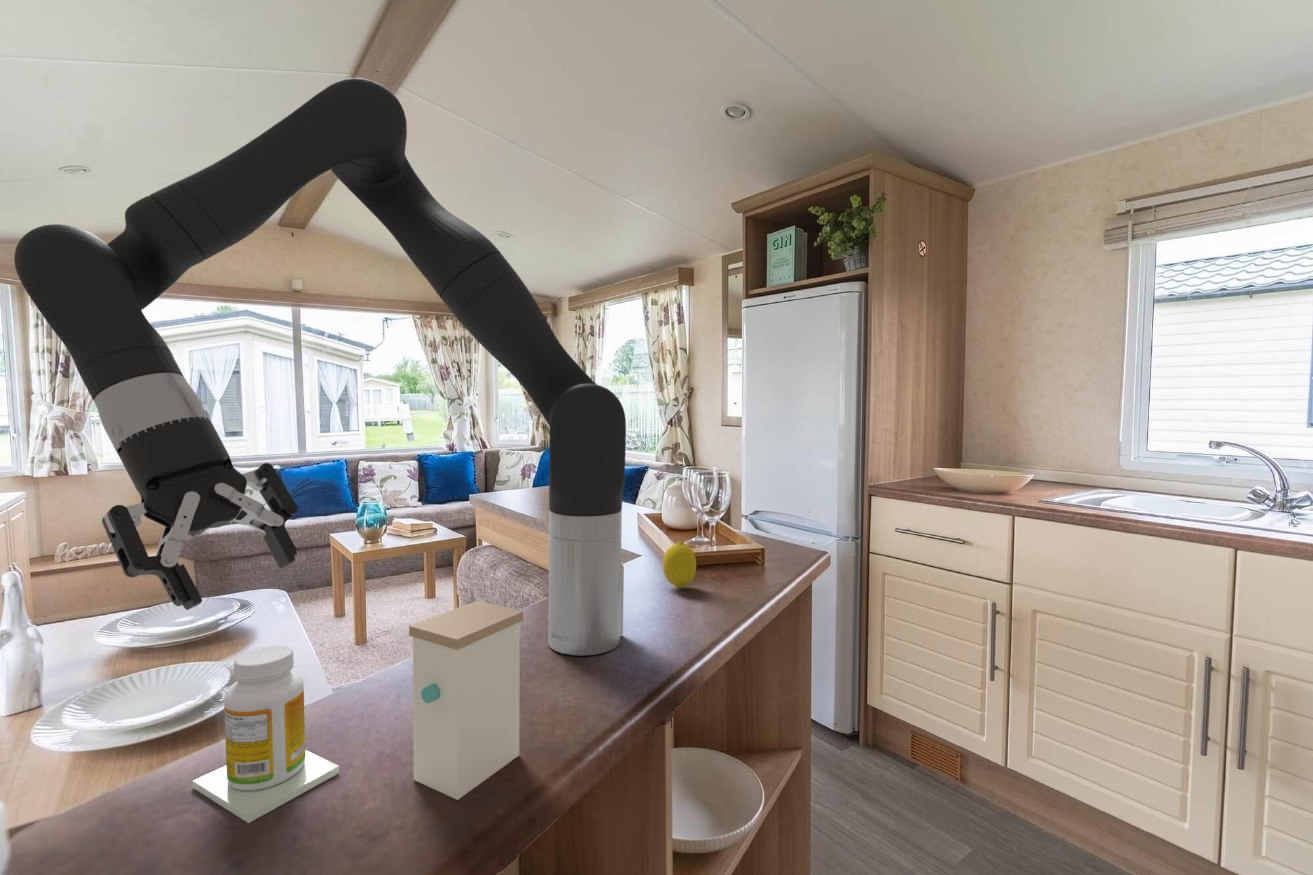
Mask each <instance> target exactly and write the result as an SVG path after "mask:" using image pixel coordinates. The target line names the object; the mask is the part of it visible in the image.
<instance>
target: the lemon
mask: <svg viewBox="0 0 1313 875" xmlns="http://www.w3.org/2000/svg"><path fill="white" fill-rule="evenodd" d="M696 560H697V559H696V555H695V553H694V551H693V549H692V548H691V547H690V546H689V545H687V544H684V542H683V541H677V543H675V544H672V545H671V546H670V547H669V548H668V549H667V550H666V551H665V553H664V557H663V563H662V568H663V574H664V576H665V579H666V580H667V581H668V582H669V583H670V584H672V585H674V586H675V587H676V589H679V590H680V589H682V588H683V587H684V586H687V585H688V584H690V582H692V580H693V579H694V578H695V575H696V572H697V561H696Z"/></svg>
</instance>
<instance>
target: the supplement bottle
mask: <svg viewBox="0 0 1313 875" xmlns="http://www.w3.org/2000/svg"><path fill="white" fill-rule="evenodd" d="M293 668H294V650H293V648H292V647H290V646H287V645H269V646H263V647H258V648H254V649H251V650H248V651H245V652H243V653H241V654H239V655H238V656H236V657H235V659H234V662H233V676H234V679H235V680H236V682H234V683H233V684H231V685H230V687H229V688H228V689H227V690H226V691H225V695H224V698H223V704H224V709H223V710H224V729H225V730H224V732H225V733H224V734H225V761H226V762H225V763H226V764H225V765H226V767H227V781H228V784H229V785H230V786H231V787H232V788H235V789H238V790H246V791H251V790H259V789H264V788H268V787H271V786H274V785H276V784H279V783H281V782H283V781H285V780H287V779H288V778H290V777H292V776H293V775H294V774H296V773H297V772H298V771H299V770H300V769H301V768H302V766H303V764H304V762H305V750H306V730H305V729H306V726H305V725H306V724H305V686H304V679H303V677H302V676H301V675H300V674H299V673H298V672H296V671H293Z"/></svg>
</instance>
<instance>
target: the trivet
mask: <svg viewBox="0 0 1313 875" xmlns="http://www.w3.org/2000/svg"><path fill="white" fill-rule="evenodd" d="M338 774H340V765H338V764H336V763H333V762H331V761H330V760H328V759H326V758H323V757H321V756H319V755H317V754H315V753H313V752H312V751H309V750H307V749H305V762H304V764H303V766H302V768H301V769H300V770H299V771H298V772H297V773H296V774H294V775H293V776H292V777H290V778H288V779H287V780H285V781H283V782H281V783H279V784H276V785H274V786H271V787H268V788H264V789H259V790H251V791H246V790H238V789H235V788H232V787H231V786H230V785H229V784H228V781H227V767H226V764H225V765H223V766H222V767H219V768H217V769H214V770H213V771H211V772H209V773H206V774H204V775H202V776H199V777H197V778H196V779H193V780H192V789H194V790H195V791H197V792H199V793H200V794H202V795H203V796H205V797H207V798H208V799H209V800H211V801H212V802H214V803H216V804H217V805H219V806H221V807H222V808H223V809H225V810H227V811H229V812H230V813H231V814H234V816H236V817H238V818H239V819H241V820H242V821H244V822H246V823H247V824H250V823H251V822H253V821H255V820H257V819H259V818H261V817H262V816H264V815H266V814H268V813H270V812H271V811H273V810H275V809H276V808H278V807H280V806H282V805H284V804H286V803H288V802H289V801H292V800H293V799H295V798H297V797H298V796H300V795H302V794H304V793H305V792H308V791H310V790H311V789H313V788H315V787H317V786H318V785H321V784H323V783H324V782H326V781H327V780H329V779H331V778H333V777H335V776H336V775H338Z"/></svg>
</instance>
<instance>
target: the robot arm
mask: <svg viewBox="0 0 1313 875" xmlns="http://www.w3.org/2000/svg"><path fill="white" fill-rule="evenodd" d="M405 113H406V112H405V110H404V108H403V106H402V104H401V102H400V100H399V99H398V98H397V97H396V96H395V94H394V93H392V91H391V90H390V89H388V88H387V87H385V86H384V85H382V84H380V83H379V82H376V81H374V80H371V79H367V78H361V77H349V78H348V77H347V78H344V79H340V80H338V81H335V82H334V83H332V84H330V85H328V86H327V87H325V88H324V89H322V90H321V91H319V92H317V93H316V94H315V95H314V96H312V97H311V98H310V99H308V100H307V101H306V102H304V103H303V104H302V105H300V106H299V107H297V109H295V110H294V111H292V112H291V113H289V114H288V115H287V116H285V117H284V118H282V119H281V120H280V121H278V122H277V123H275V124H274V125H272V126H271V127H269V128H268V129H266V130H265V131H264V132H262V133H261V134H260V135H258V136H257V137H255V138H253V139H252V140H251V141H249V142H248V143H246V144H245V145H243V146H241V147H240V148H237V149H236V150H235V151H233V152H231V153H229V154H228V155H226V156H225V157H222V159H219V160H217V161H216V162H214V163H212V164H210V165H209V166H207V167H204V168H203V169H201V170H199V171H196V172H195V173H193V174H190V175H188V176H186V177H184V178H182V179H180V180H178V181H175V182H174V183H171V184H169V185H167V186H166V187H162V188H161V189H159V190H157V191H155V192H152V193H151V194H149V195H146V196H144V197H142V198H140V199H138V200H136V201H135V202H133V203H131V204H130V205H129V206H128V207H127V208H126V210H125V212H124V220H125V228H124V230H123V231H122V232H121V233H120V234H118V235H117V236H116V237H115V238H113V239H112V240H111V241H109V242H108V243H106V242H105V241H103V240H102V239H101V238H100V237H99V236H97V235H95V234H93V233H92V232H90V231H87V230H85V229H83V228H79V227H76V226H71V225H67V224H58V223H57V224H55V223H54V224H52V223H51V224H45V225H41V226H38V227H35V228H33V229H31V230H30V231H28V232H27V233H26V234H24V235H23V236H22V238H20V240H19V241H18V243H17V245H16V248H15V251H14V267H15V271H16V273H17V274H16V275H17V277H18V279H19V280H20V283H21V285H22V287H23V288H24V290H25V291H26V293H27V295H28V296H29V297H30V299H31V301H32V302H33V303H34V305H35V306H36V309H37V310H38V311H39V312H40V314H41V315H42V316H43V317H44V319H45V321H46V322H47V324H48V325H49V327H50V328H51V329H52V331H53V332H54V333H55V334H56V336H57V337H58V338H59V339H60V341H61V342H62V343H63V345H64V347H65V348H66V349H67V351H68V353H69V354H70V356H71V358H72V360H73V363H74V364H75V368H76V369H77V372H78V374H79V376H80V378H81V380H82V382H83V384H84V385H85V387H86V390H87V391H88V393H89V395H90V398H91V399H92V401H93V402H94V405H95V407H96V410H97V412H98V415H99V419H100V423H101V425H102V426H103V429H104V431H105V433H106V435H107V436H108V438H109V440H110V441H111V444H112V447H113V448H114V449H115V452H116V453H117V455H118V457H119V459H120V461H121V463H122V465H123V467H124V469H125V471H126V472H127V474H128V475H129V476H128V477H129V478H130V480H131V481H132V483H133V485H134V487H135V490H136V491H137V493H138V494H139V495H140V498H141V500H140V503H135V504H132V505H127V506H125V505H123V504H116V505H114V506H112V507H111V508H110V509H109V510H108V511H107V512H106V513H105V515H104V516H103V517H102V519H101V523H102V525H103V527H104V530H105V533H106V534H107V537H108V539H109V542H110V543H111V546H112V548H113V550H114V553H115V555H116V558H117V559H118V562H119V564H120V566H121V569H122V572H123V573H124V575H125V576H126V577H128V578H136V577H138V576H147V575H152V576H156V577H157V578H159V580H160V581H161V584H162V586H163V588H164V589H165V591H166V592H167V596H168V597H169V599H170V600H171V603H173V604H174V605H175V606H176V607H181V606H183V608H184V609H185V610H186V611H189V610H191V609H193V608H196V607H197V606H198V605H200V604H202V602H203V599H202V596H201V595H200V592H199V590H198V589H197V587H196V584H195V583H194V581H193V579H192V578H191V576H190V574H189V571H188V570H187V568H186V566H185V564H181V565H180V564H179V562H178V561H179V559H180V556H181V552H182V550H183V546H184V543H186V542H185V541H186V540H187V538H188V536H191V537H195V536H198V535H200V534H203V533H204V532H206V531H207V530H209V529H216V528H217V529H218V528H221V527H224V526H227V525H229V524H230V523H231V522H232V521H233V522H235V523H237V524H239V525H242V526H249V527H250V528H253V529H255V530H256V531H259V532H261V533H263V534H265V535H264V536H262V539H264V541H265V543H266V545H267V547H268V549H269V551H270V552H271V555H272V557H273V559H274V560H275V562H276V564H277V565H278V567H279V569H283V568H284V569H285V567H288V566H290V565H292V564H293V563H294V562H296V555H297V548H296V546H295V544H294V542H293V540H292V538H291V536H290V534H289V532H288V530H287V529H286V526H285V525H286V522H287V521H288V520H290V518H292V517H293V516H294V515H295V514H297V513H298V511H299V507H298V505H297V503H296V502H295V500H294V498H292V495H291V494H290V492H289V490H288V489H287V487H286V485H285V483H284V482H283V481H282V479H281V478H280V476H279V474H278V473H277V471H276V469H275V467H274V466H273V465H272V464H271V463H269V462H264V463H262V464H261V465H260V466H259V467H257V468H256V469H254V470H250V471H248V472H245V473H241V472H240V471H238V470H237V469H236V468H235V467H234V465H233V462H232V459H231V456H230V454H229V452H228V450H227V449H226V446H225V445H224V443H223V441H222V440H221V437H220V436H219V433H218V432H217V430H216V428H215V426H214V424H213V422H212V420H211V418H210V415H209V413H208V410H207V409H206V408H205V407H204V405H203V404H202V402H201V399H200V398H199V397H198V395H197V393H196V392H195V391H194V389H193V388H192V386H191V385H190V383H189V382H188V380H187V379H186V378H185V376H184V374H183V373H182V370H181V369H180V366H179V365H178V363H177V360H176V359H175V358H174V355H173V354H172V351H171V349H170V347H169V345H167V343H166V341H165V339H163V337H162V336H161V334H160V333H159V332H158V331H157V329H156V328H154V326H153V325H152V324H151V323H150V322H149V321H148V319H147V318H146V316H145V315H144V313H143V310H144V309H146V308H147V307H148V306H149V305H151V303H153V302H154V301H156V300H157V299H158V298H159V297H160V296H161V295H162V294H164V293H165V292H166V291H167V290H168V289H169V288H170V287H172V286H173V285H174V284H175V283H176V282H177V281H178V280H180V278H181V277H182V276H183V275H184V274H185V273H186V272H187V271H189V269H191V268H192V267H194V266H196V265H199V264H200V263H203V262H204V261H205V260H208V259H210V258H212V257H214V256H215V255H217V254H219V253H221V252H222V251H225V250H226V249H228V248H230V247H233V246H234V245H235V244H237V243H240V241H243V240H244V239H246V238H247V237H249V235H251V234H252V233H254V232H256V231H257V230H258V229H259V228H260V227H262V225H263V224H265V223H266V222H267V221H268V220H269V219H270V218H271V217H272V216H273V215H275V213H276V212H278V210H279V209H280V208H282V207H283V206H284V204H285V203H286V202H287V201H289V199H290V198H292V197H293V196H294V195H295V194H296V193H298V192H299V191H300V190H301V189H303V188H304V187H305V186H306V185H307V184H308V183H310V182H312V181H313V180H315V179H316V178H318V177H319V176H321V175H323V174H325V173H326V172H328V171H330V170H331V172H332V173H333V174H334V175H335V176H336V178H337V179H338V180H339V181H340V182H341V183H342V184H343V185H344V186H345V187H346V188H347V189H348V190H349V191H350V192H351V193H352V194H353V195H354V196H355V197H356V198H357V199H358V200H359V201H360V202H361V203H362V204H363V205H364V206H365V207H366V209H367V210H369V211H370V213H372V214H373V215H374V217H376V219H378V221H379V222H380V223H381V224H382V225H383V226H384V227H385V228H386V229H387V231H388V232H389V233H390V234H391V236H392V237H393V238H394V239H395V240H396V241H397V243H398V244H399V246H400V247H401V248H402V250H403V251H404V253H405V254H406V255H407V257H408V258H409V259H410V261H411V262H412V263H413V264H414V266H415V267H416V268H417V269H418V271H419V272H420V273H421V274H422V275H423V277H424V278H425V279H426V280H427V282H428V283H429V284H430V286H431V288H433V289H434V291H435V293H436V295H437V296H438V297H439V298H440V299H441V301H442V302H443V304H445V305H446V306H447V307H448V309H449V310H450V312H451V313H452V314H453V315H454V317H455V318H456V319H457V320H458V321H459V322H460V324H461V325H462V326H463V327H464V328H465V329H466V331H467V332H469V334H471V336H472V337H473V338H474V339H475V340H476V341H477V342H478V343H479V344H480V345H481V346H482V347H483V349H485V350H486V351H487V352H488V353H489V354H490V355H491V356H492V357H493V358H494V359H496V360H497V362H499V363H500V364H501V365H502V366H503V367H504V368H505V369H506V370H508V372H509V373H510V374H511V375H512V376H513V377H514V379H516V381H518V382H519V384H520V385H521V386H522V387H523V389H524V390H525V391H526V393H527V394H528V396H529V397H530V399H531V401H532V402H533V403H534V405H535V407H537V409H538V410H539V412H540V414H541V415H542V417H543V418H544V420H545V421H546V423H547V425H548V427H549V458H548V459H549V462H548V463H549V471H548V472H549V478H548V498H549V499H548V514H549V515H548V538H549V539H548V622H547V625H548V627H547V628H548V632H547V633H548V634H547V635H548V636H547V639H548V640H547V641H548V642H547V644H548V646H549V648H550V649H552V650H554V651H555V652H558V653H560V654H563V655H568V656H570V655H571V656H585V657H586V656H595V655H599V654H604V653H607V652H609V651H612V650H614V649H616V648H617V647H618V645H620V643H621V636H623V635H624V585H625V584H624V583H625V582H624V579H625V578H624V577H625V576H624V575H625V571H624V570H625V567H624V565H623V564H622V535H623V534H622V525H623V524H622V523H623V522H622V519H623V518H622V517H623V515H622V514H623V511H622V510H623V494H624V489H625V477H626V474H625V473H626V448H627V447H626V444H627V442H626V441H627V424H626V423H627V422H626V413H625V409H624V406H623V404H622V402H621V401H620V400H619V398H618V397H617V395H616V394H614V393H613V391H611V390H610V389H608V388H606V387H604V386H602V385H600V384H597V383H596V382H595V381H594V380H593V379H592V378H591V377H590V376H589V375H588V374H587V373H586V372H585V371H584V370H583V368H581V366H580V365H579V364H578V363H577V362H576V361H575V360H574V359H573V358H572V356H570V354H569V353H568V352H567V351H566V349H565V348H564V347H563V346H562V344H561V342H560V341H559V339H558V338H557V336H556V335H555V333H554V331H553V330H552V327H551V326H550V324H549V322H548V320H547V318H546V316H545V314H544V312H543V311H542V310H541V308H540V306H539V304H538V302H537V301H536V300H535V298H534V296H533V295H532V292H530V290H529V288H528V287H527V286H526V284H525V283H524V281H523V280H522V279H521V278H520V276H519V274H518V273H517V272H516V271H515V269H514V268H513V267H512V265H511V264H510V263H509V262H508V260H507V259H506V258H505V256H504V255H503V254H502V253H501V251H500V250H499V249H498V248H497V247H496V245H495V244H494V243H493V242H492V241H491V240H490V239H488V237H487V236H485V235H484V234H483V233H481V232H480V231H479V230H477V229H476V228H475V227H473V225H469V223H467V222H465V221H464V220H462V219H461V218H459V217H457V216H456V215H454V214H452V212H450V211H448V210H447V209H446V208H445V207H444V206H443V205H441V203H439V201H437V199H436V198H435V197H434V196H433V195H432V194H431V192H430V191H429V190H428V189H427V187H426V185H425V184H424V183H423V182H422V180H421V179H420V177H419V176H418V175H417V173H416V172H415V170H414V168H413V167H412V165H411V164H410V162H409V160H408V158H407V156H406V145H407V137H408V131H407V130H408V128H407V126H408V124H407V118H406V114H405ZM247 486H249V487H251V488H252V490H253V491H256V492H259V493H260V495H261V497H262V499H263V500H264V501H265V503H266V505H267V506H268V508H269V509H270V510H269V509H268V508H266V507H265V506H264V504H263V503H261V502H259V501H257V500H255V499H254V498H251V497H249V496H247V495H245V492H246V489H247ZM142 517H145V518H147V519H149V520H151V521H153V522H155V523H156V524H159V525H161V526H163V530H162V533H161V536H160V539H159V542H158V544H157V552H156V554H155V555H154V556H152V555H151V556H149V554H148V552H147V549H146V548H145V545H144V542H143V540H142V538H141V537H140V534H139V531H138V528H139V527H141V525H142Z"/></svg>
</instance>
